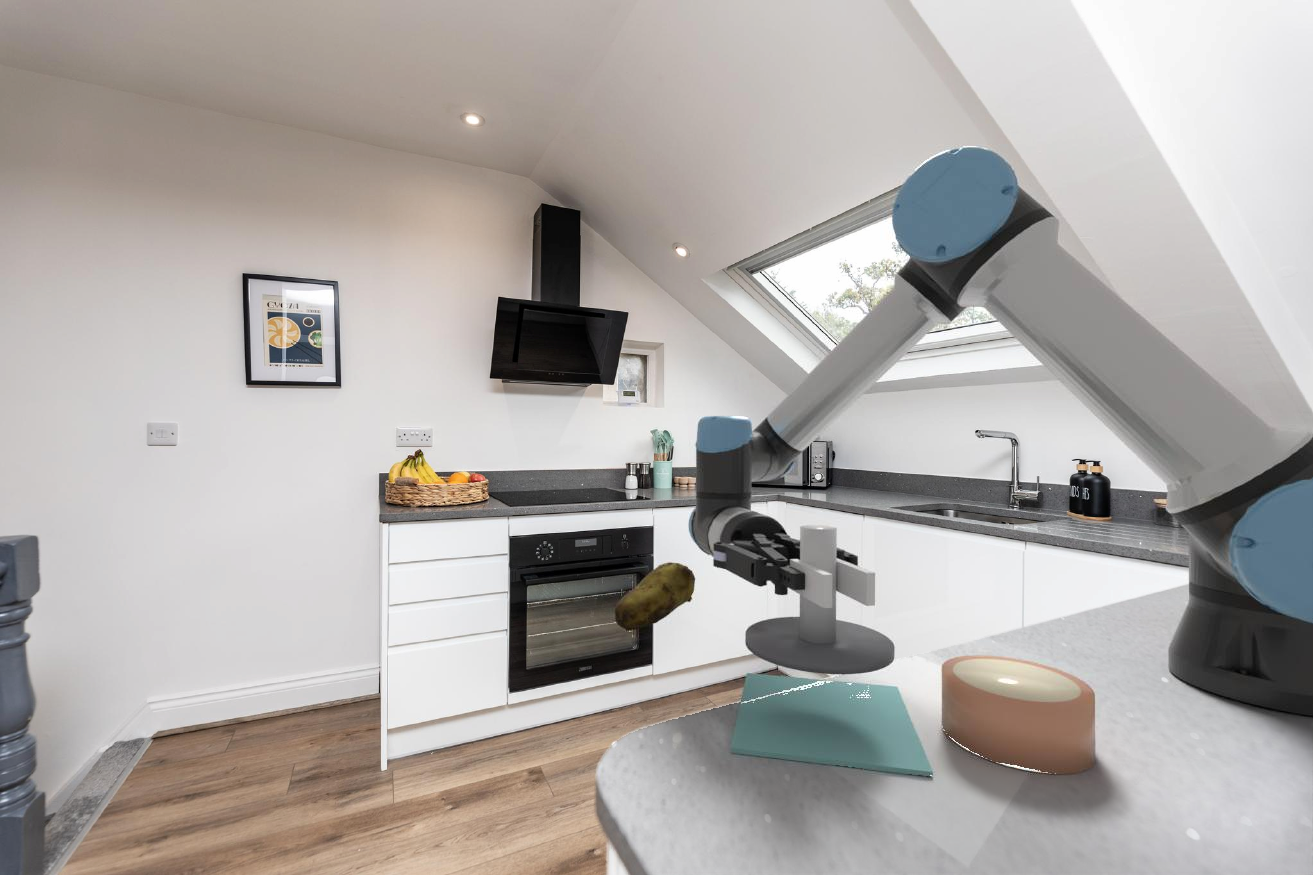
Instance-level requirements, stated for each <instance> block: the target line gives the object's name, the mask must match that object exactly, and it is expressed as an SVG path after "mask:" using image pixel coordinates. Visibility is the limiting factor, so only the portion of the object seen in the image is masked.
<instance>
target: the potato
mask: <svg viewBox="0 0 1313 875" xmlns="http://www.w3.org/2000/svg"><path fill="white" fill-rule="evenodd" d="M695 583H696V577H695V574H694V572H693V570H691V569H690V568H689V567H688V566H687V565H684V564H682V563H679V562H672V561H671V562H669V561H668V562H665V563H662V564H659V565H658V566H657V567H656V568H654V569H653V570H652V571H651V572H649V573H647V575H646V576H645V577H643V579H641V581H640V582H639V583H638V584H637V585H636V586H635V587H634V588H632V590H630V591H628V592H627V593H626V594H625V595H623V597H622V598H621V599H620V600H619V601H618V602H617V604H616V605H615V608H614V617H615V618H614V619H615V623H616V624H617V625H618V626H619V627H621V628H622V629H625V630H626V631H634V630H636V631H637V629H641V628H642V627H647V626H650V625H653V624H657V623H658V622H660V621H661V620H663V619H664V618H667V617H668V616H669V615H670V614H671V613H673V612H674V611H675V610H676V609H677V608H679V607H680V606H682V605H684V604H685V603H690V602H692V600H693V597H692V596H693V594H694V591H695Z"/></svg>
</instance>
